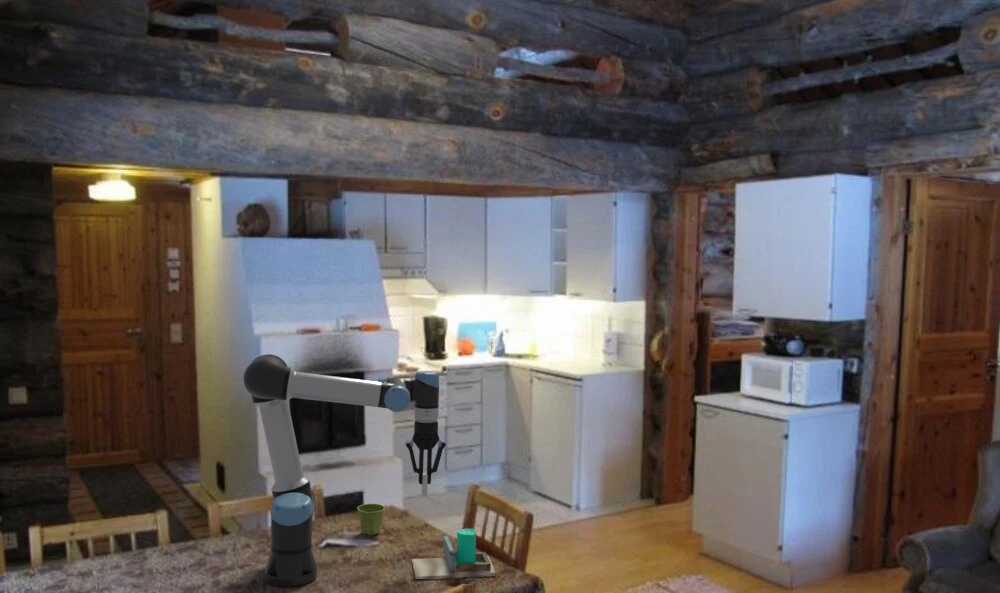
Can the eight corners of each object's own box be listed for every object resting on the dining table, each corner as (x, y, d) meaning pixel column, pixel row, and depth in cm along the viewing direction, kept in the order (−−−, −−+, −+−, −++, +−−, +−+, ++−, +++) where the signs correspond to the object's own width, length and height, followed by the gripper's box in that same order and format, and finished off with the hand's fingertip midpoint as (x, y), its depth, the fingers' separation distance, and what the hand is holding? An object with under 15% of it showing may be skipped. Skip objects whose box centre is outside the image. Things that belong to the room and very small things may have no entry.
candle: (458, 569, 245) (459, 530, 245) (454, 562, 251) (454, 524, 250) (478, 568, 247) (478, 529, 246) (473, 560, 253) (473, 522, 252)
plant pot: (385, 528, 284) (385, 503, 284) (383, 537, 275) (383, 512, 275) (358, 528, 284) (358, 503, 283) (355, 537, 274) (355, 512, 274)
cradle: (415, 580, 239) (415, 570, 239) (412, 562, 253) (412, 552, 253) (495, 576, 244) (496, 566, 244) (488, 558, 257) (488, 549, 257)
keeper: (449, 572, 242) (450, 553, 242) (441, 551, 259) (441, 533, 259) (457, 572, 243) (458, 552, 242) (448, 551, 260) (449, 533, 259)
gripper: (406, 422, 253) (404, 497, 254) (448, 422, 255) (446, 497, 256) (404, 418, 260) (403, 491, 261) (445, 417, 262) (443, 490, 263)
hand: (424, 493), depth 259 cm, fingers closed
